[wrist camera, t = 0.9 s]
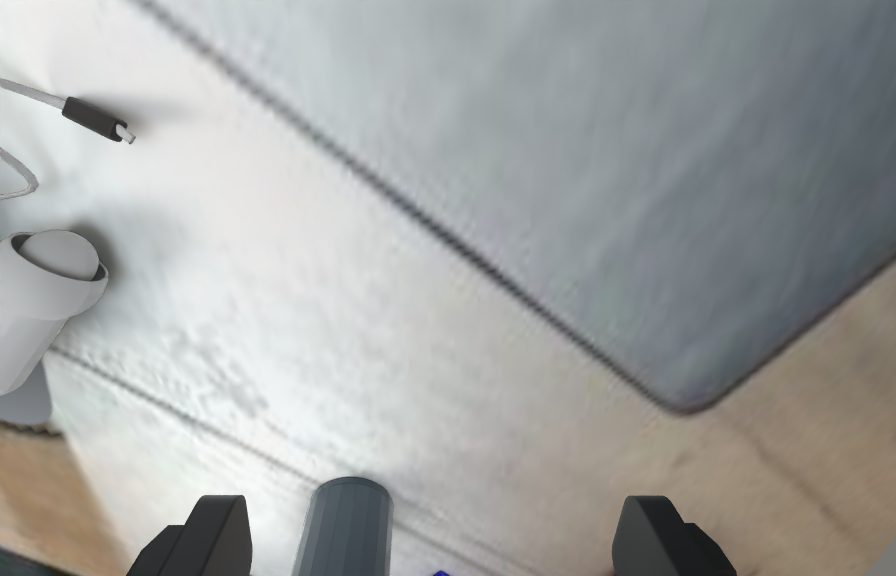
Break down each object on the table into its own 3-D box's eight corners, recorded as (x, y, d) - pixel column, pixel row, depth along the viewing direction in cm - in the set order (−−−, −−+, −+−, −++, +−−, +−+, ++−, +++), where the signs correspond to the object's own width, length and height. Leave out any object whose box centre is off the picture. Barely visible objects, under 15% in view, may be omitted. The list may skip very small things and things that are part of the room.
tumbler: (296, 488, 36) (263, 598, 28) (378, 468, 36) (368, 574, 28) (326, 543, 39) (304, 658, 31) (403, 525, 38) (399, 637, 31)
